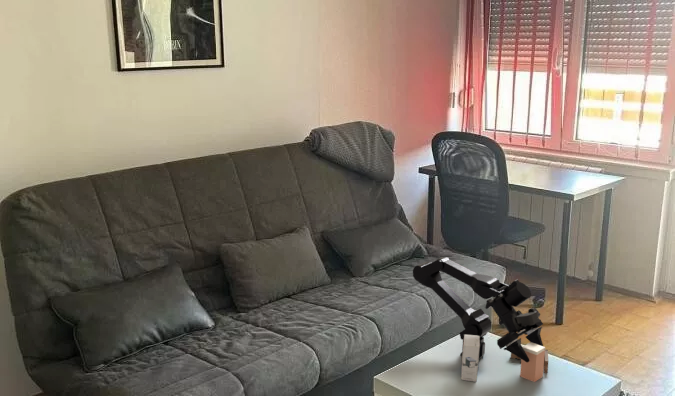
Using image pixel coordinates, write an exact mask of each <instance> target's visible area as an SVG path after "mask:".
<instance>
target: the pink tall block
mask: <svg viewBox="0 0 675 396" xmlns="http://www.w3.org/2000/svg"><path fill="white" fill-rule="evenodd" d="M543 346H544V345H543ZM543 346H541V345H538V344H535V343H532V342H530V341H529V342H527V344H525V345H522V347H523V349H524V351H525V353H526V354H527V356H528V358H529V360H530V361H529V362H525V361H524V360H522V359H520V375H519V376H520V378H522V379H525V380H528V381H531V382H534V383H535V382H537V381H538V380H540V379H541V378H543V377H544V356H545V350H546V347H545V346H544V347H543Z"/></svg>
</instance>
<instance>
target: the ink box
mask: <svg viewBox="0 0 675 396" xmlns="http://www.w3.org/2000/svg"><path fill="white" fill-rule="evenodd" d="M462 346H463V355H462V356H461V357H462V358H461V372H460V373H461V376H460V377H461V380H462V381H467V382H468V381H469V382H477V381H478V379H477V377H478V370H479V369H478V368H479V361H480V359H479V348H480V336H477V335H465V334H464V343H463V342H462Z"/></svg>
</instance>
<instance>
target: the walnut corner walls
mask: <svg viewBox="0 0 675 396" xmlns="http://www.w3.org/2000/svg"><path fill="white" fill-rule="evenodd" d="M510 358H511V359H515V358H517V359H516V360H521V358H519V357H518V356H516V355H514V354H513V353H511V352H510ZM544 373H545V374H548V373H549V351H548V349H545V356H544V368H543V374H544Z"/></svg>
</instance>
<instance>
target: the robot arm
mask: <svg viewBox="0 0 675 396" xmlns="http://www.w3.org/2000/svg"><path fill="white" fill-rule="evenodd" d="M440 271H441V272H442V273H444V274H446V275H448V276H450V277H451V278H454V279H456V280H457V281H460V282H461V283H462V284H465V285H467V286H468V287H469V288H471V289H472V291H473V292H474V293H475V294H476V295H477V296H479V297H480V298H482V299H484V300H485V302H486V305H485V309H486V310H488V309H490V308H492V309H493V311H494V312H495V314H496V315H497V318H499V320H500V321H498V323H499V325H500V326H502V325H503V326H504V328H505V329H506V330H507V333H506V334H504V335H503V336H501V337H500V338H498V339H497V341H496V344H497V346H498V347H499V349H500V350H502V349H503V350H504V351H508V352H509V353H510V354H511V353H513V354H514V355H516V356H518V357H519V358H521V359H522V360H524V361H525V362H529V361H530V360H529V358H528V356H527V354H526V353H525V351H524V349H523V345H522V338H519V337H521V336H523V335H524V336H525V335H526V336H525V338H526V339H527V341H529V343H530V342H532V343H535V344H538V345H541V346H543V347H545V346H544V343H543V341H542V338H541V336H542V335H541V331H542V329H543V326H542V325H544V323H543V322H542V320H541V319H540V317H541V313H540V312H539V311H538V309H537V308H536V307H531V308H528V311H527V312H526V313H522V311H521V310H516V309H515V308H516V307H518V306H520V305H521V304H523V303H524V302H526V301H527V300H529V299H530V298H531V296H532V292H531V289H530V288H529V287H528V285H526V284H524V283H523V282H520V280H519V279H515V280H513V281H512V282H511V283H510V284H506V283H503V281H502V282H501V281H500V280H499V279H498V278H496V277H495V276H491V275H487V274H482V273H481V274H480V273H477V272H475V271H473V270H471V269H469V268H467V267H465V266H463V265H461V264H459V263H457V262H455V261H453V260H451V259H450V258H449V257H448V256H442V257H439V258H438V259H436V260H435V261H425V262H422V263H420V264H417V265H415V266H414V267H413V269H412V277H413V279H414V280H415V281H416V282H418V283H419V284H420V285H422V286H424V287H426V288H429V289H431V290H432V291H433V292H434V293H435V294H436V295H437V296H438V297H439V298H440V299H441V300H442V301H443V302H444V303H445V304H446V305H447V306H448V307H449V308H450V310H452V311H453V312H454V313H455V314H456V316H458V317H459V318H460V320H461V323H462V326H463V328H464V329H463V330H462V331H460V332H459V337H460V339H461V340H462V344H463V343H464V334H465V335H477V336H480V348H479V360H480V359H482V357H483V356H484V355H485V351H486V342H484V341H485V338H484V337H485V336H486V335H487V334H488V333H490V331H491V330H492V328H493V327H492V326H493V325H492V321H491V319H490V318H489V317H490V315H488V314H486V313H485V312H484V310H483V309H482V308H478V309H473V308H472V307H471V306H470V305H469V304H468V303H466V301H465V300H463V298H461V297H460V295H458V293H456V292H455V290H453V288H451V286H450V285H448V284H447V283H446V282H445V280H444V279H442V275H441V273H440ZM461 348H462V349H461V352H460V356H461V357H462V355H463V345H462V347H461ZM521 359H520V360H521Z"/></svg>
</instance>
